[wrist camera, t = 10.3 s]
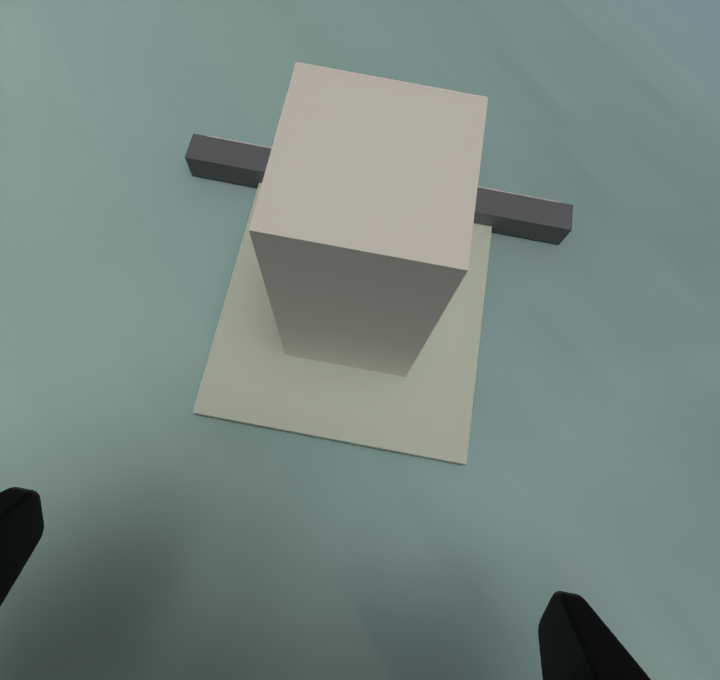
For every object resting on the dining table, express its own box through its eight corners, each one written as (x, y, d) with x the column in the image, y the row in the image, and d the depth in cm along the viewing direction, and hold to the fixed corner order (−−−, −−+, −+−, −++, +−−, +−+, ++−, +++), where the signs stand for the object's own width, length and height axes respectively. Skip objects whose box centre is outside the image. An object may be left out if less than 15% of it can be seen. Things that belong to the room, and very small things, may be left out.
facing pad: (195, 414, 18) (192, 412, 18) (260, 186, 22) (259, 181, 21) (463, 465, 18) (466, 464, 18) (489, 229, 22) (492, 224, 21)
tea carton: (405, 376, 19) (467, 270, 10) (285, 354, 19) (249, 230, 10) (422, 265, 20) (488, 92, 12) (311, 244, 20) (297, 56, 12)
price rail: (192, 175, 22) (184, 157, 20) (201, 150, 22) (194, 130, 21) (558, 244, 22) (571, 229, 20) (560, 217, 22) (572, 202, 21)
